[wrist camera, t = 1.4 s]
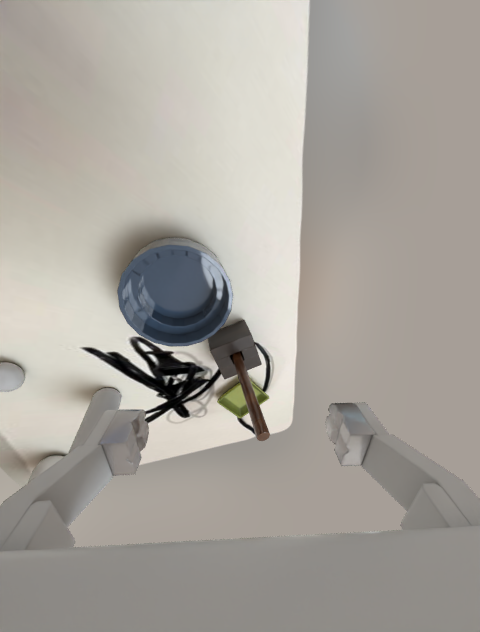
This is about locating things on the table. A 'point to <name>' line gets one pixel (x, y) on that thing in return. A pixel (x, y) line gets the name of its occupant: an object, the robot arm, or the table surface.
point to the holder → (233, 348)
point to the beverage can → (96, 413)
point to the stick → (250, 399)
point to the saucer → (240, 399)
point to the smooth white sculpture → (10, 377)
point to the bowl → (175, 292)
